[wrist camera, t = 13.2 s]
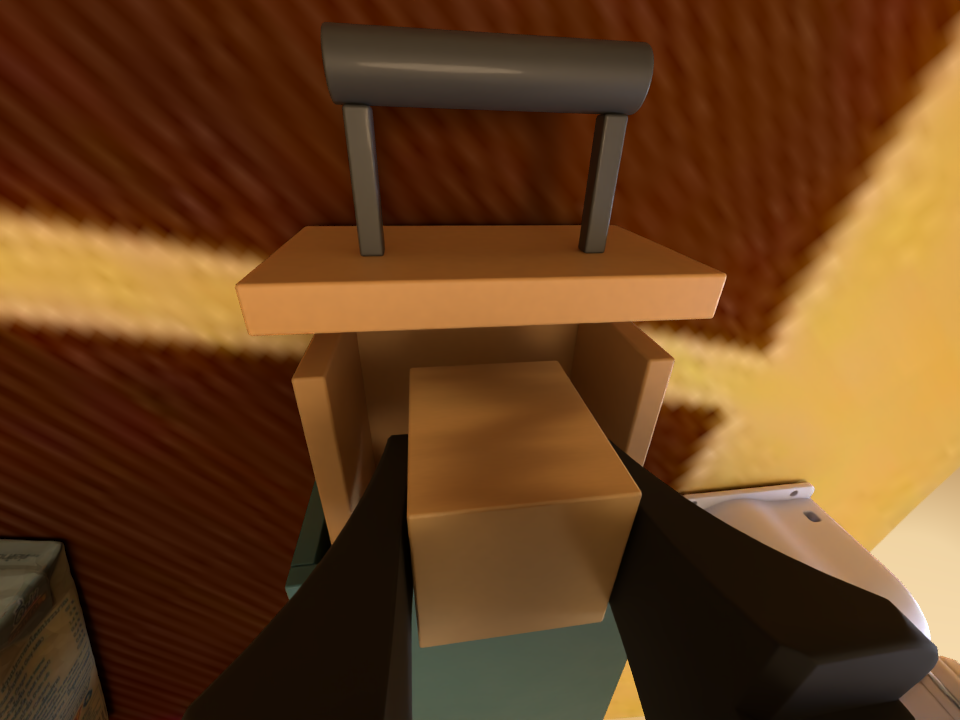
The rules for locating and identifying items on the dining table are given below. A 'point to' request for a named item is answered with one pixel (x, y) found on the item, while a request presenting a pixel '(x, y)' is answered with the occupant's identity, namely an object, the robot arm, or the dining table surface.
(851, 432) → the dining table surface
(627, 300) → the drawer
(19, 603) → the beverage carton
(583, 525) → the block
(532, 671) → the cabinet
